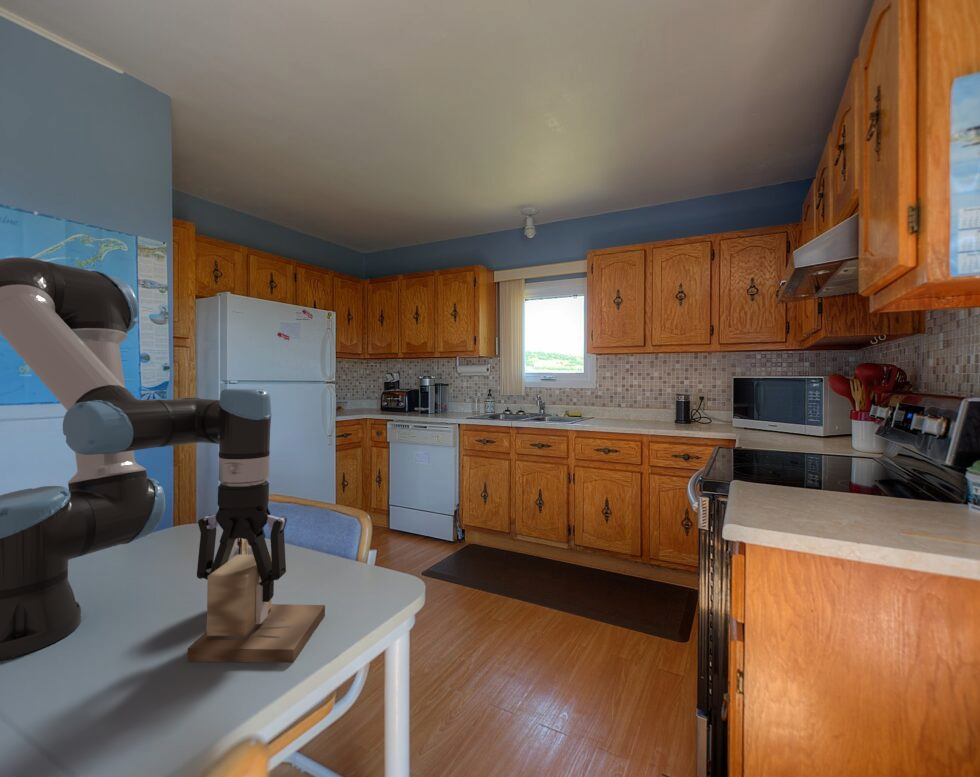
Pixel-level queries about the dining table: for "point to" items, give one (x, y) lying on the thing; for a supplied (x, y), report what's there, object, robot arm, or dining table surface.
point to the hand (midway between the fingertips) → (241, 619)
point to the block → (233, 599)
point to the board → (264, 638)
